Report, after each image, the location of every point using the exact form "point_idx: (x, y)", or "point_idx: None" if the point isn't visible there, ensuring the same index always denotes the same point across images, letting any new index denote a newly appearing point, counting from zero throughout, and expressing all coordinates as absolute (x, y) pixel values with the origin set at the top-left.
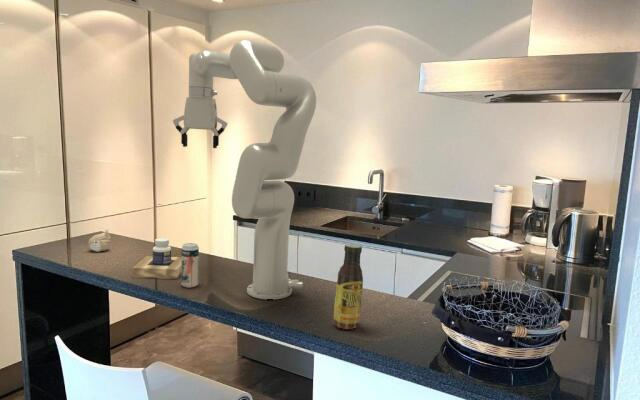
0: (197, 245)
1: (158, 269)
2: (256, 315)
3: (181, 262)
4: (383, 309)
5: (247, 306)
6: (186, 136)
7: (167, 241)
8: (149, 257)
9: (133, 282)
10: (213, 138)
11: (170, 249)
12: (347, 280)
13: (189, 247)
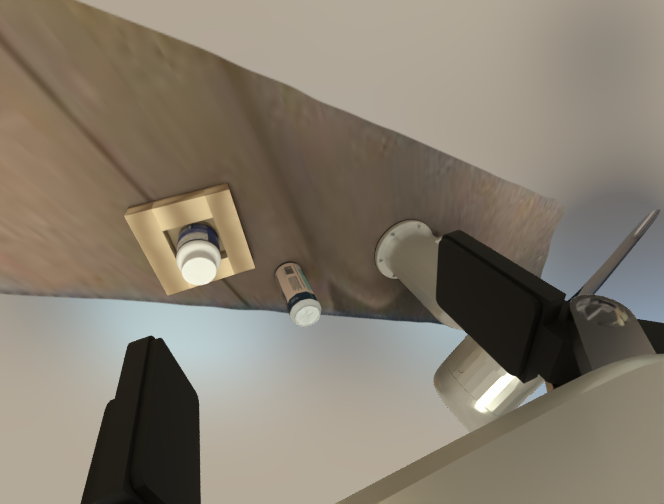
0: (319, 310)
1: (219, 278)
2: (395, 313)
3: (237, 227)
4: (517, 243)
5: (383, 298)
6: (174, 479)
7: (216, 270)
8: (141, 224)
9: (190, 300)
10: (499, 359)
11: (220, 255)
12: None
13: (311, 324)
